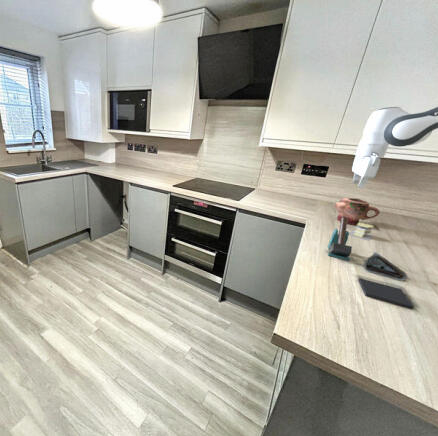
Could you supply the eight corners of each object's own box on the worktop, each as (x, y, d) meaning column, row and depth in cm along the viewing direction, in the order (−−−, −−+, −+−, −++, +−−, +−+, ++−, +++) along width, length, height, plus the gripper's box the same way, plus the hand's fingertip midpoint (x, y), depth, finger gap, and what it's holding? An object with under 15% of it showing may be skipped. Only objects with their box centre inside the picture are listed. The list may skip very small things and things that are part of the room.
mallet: (341, 247, 107) (353, 218, 102) (347, 261, 95) (361, 229, 90) (325, 244, 110) (336, 215, 104) (329, 257, 98) (342, 225, 92)
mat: (399, 291, 78) (400, 288, 78) (412, 309, 70) (414, 306, 70) (357, 280, 83) (358, 277, 83) (365, 295, 75) (366, 293, 75)
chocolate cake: (402, 274, 89) (380, 246, 92) (410, 278, 83) (387, 248, 86) (372, 283, 93) (353, 256, 96) (378, 288, 87) (357, 258, 90)
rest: (343, 250, 104) (351, 231, 101) (348, 260, 96) (357, 240, 93) (324, 246, 108) (331, 227, 104) (328, 255, 99) (335, 236, 96)
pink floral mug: (372, 225, 137) (382, 202, 132) (372, 230, 129) (383, 206, 124) (331, 215, 149) (338, 194, 144) (328, 220, 141) (336, 198, 136)
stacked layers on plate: (368, 240, 116) (373, 230, 114) (346, 233, 123) (350, 224, 121) (375, 236, 121) (379, 226, 119) (353, 230, 128) (357, 220, 126)
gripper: (390, 154, 84) (374, 191, 89) (373, 151, 101) (361, 182, 106) (367, 152, 87) (353, 189, 92) (354, 149, 104) (343, 180, 109)
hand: (357, 185), depth 99 cm, fingers open, 8 cm apart
